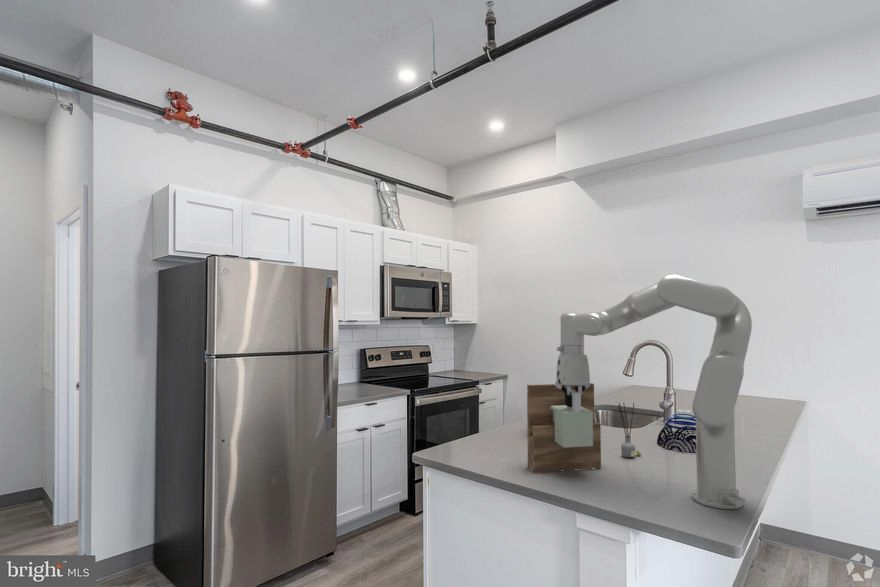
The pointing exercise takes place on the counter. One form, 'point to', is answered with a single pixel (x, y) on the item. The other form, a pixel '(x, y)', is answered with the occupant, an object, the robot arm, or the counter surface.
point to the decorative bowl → (683, 429)
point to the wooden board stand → (542, 432)
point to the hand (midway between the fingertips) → (572, 406)
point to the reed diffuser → (628, 440)
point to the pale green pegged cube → (573, 423)
